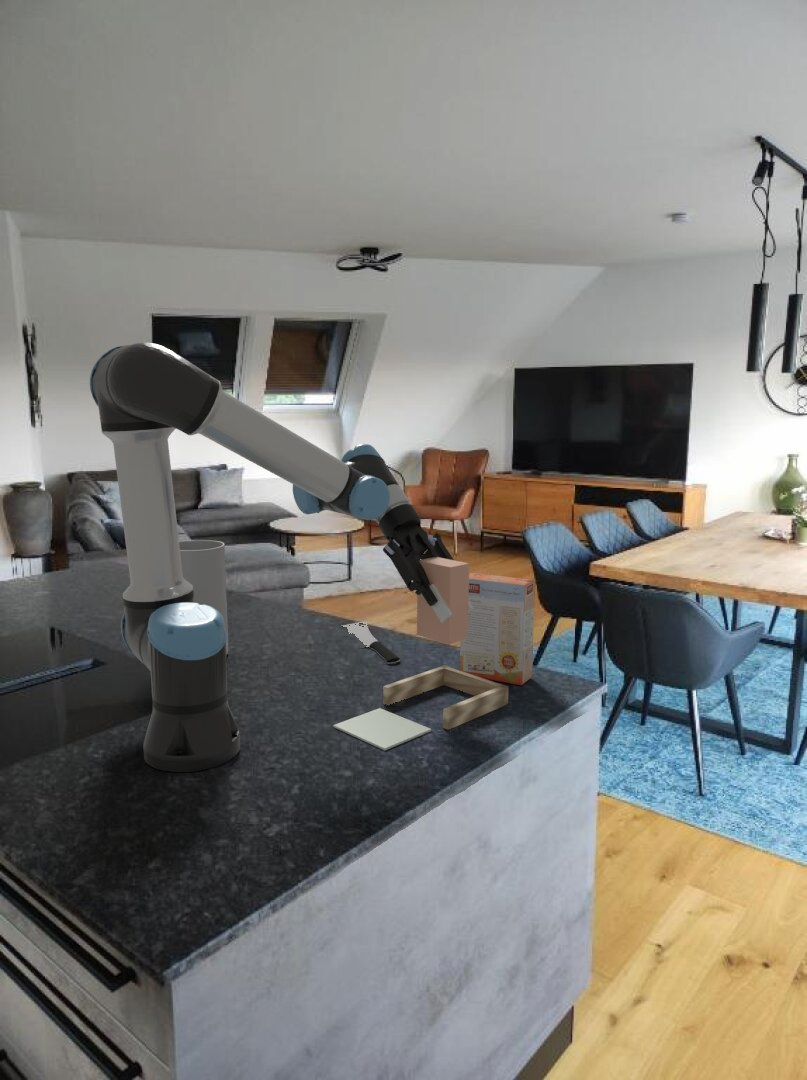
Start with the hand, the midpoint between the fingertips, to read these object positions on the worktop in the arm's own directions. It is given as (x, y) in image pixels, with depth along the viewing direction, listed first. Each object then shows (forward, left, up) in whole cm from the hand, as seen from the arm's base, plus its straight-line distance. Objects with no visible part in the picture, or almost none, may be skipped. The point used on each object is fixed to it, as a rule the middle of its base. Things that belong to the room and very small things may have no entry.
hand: (457, 615), depth 142 cm
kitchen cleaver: (+15, +42, -19) cm, 48 cm away
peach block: (0, +4, -5) cm, 6 cm away
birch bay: (+1, +4, -18) cm, 19 cm away
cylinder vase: (-17, +61, -18) cm, 66 cm away
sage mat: (-15, +4, -18) cm, 24 cm away
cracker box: (+20, +7, -18) cm, 28 cm away
